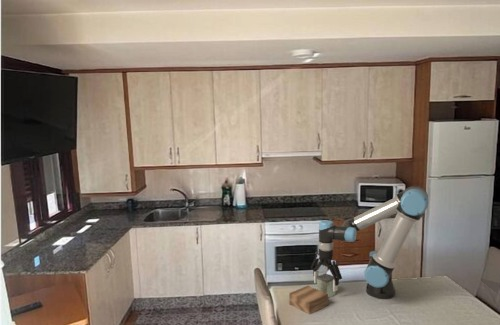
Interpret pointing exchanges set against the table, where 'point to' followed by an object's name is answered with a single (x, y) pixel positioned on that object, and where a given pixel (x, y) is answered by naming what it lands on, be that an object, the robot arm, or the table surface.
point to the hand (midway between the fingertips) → (325, 286)
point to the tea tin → (325, 284)
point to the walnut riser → (308, 299)
